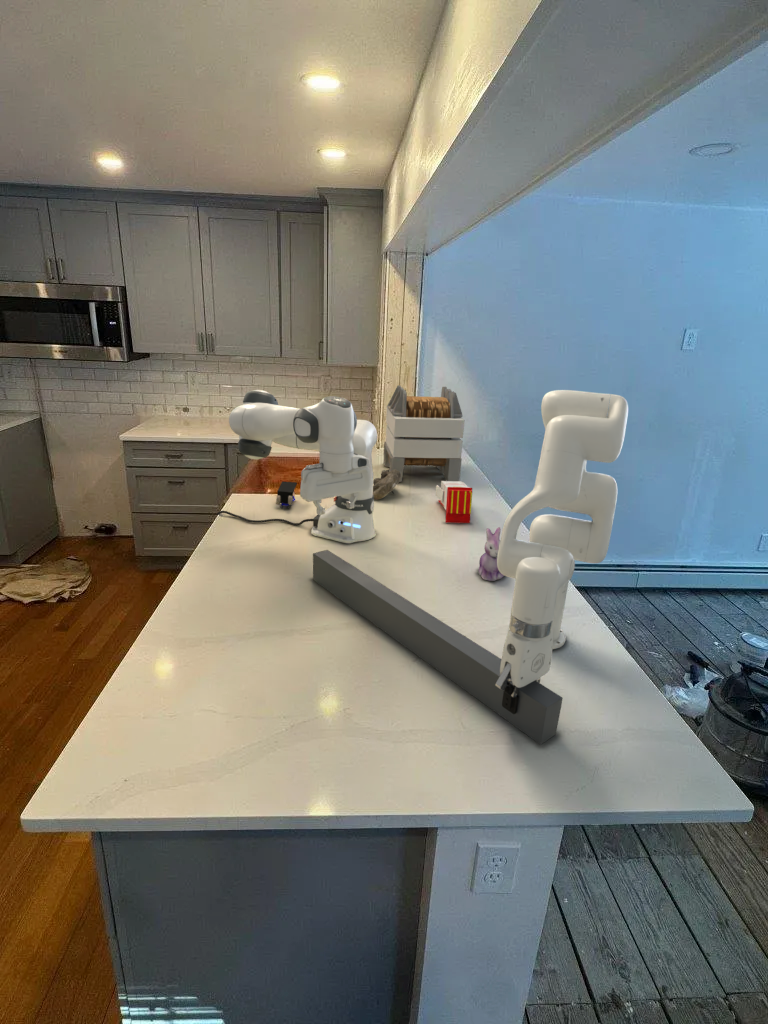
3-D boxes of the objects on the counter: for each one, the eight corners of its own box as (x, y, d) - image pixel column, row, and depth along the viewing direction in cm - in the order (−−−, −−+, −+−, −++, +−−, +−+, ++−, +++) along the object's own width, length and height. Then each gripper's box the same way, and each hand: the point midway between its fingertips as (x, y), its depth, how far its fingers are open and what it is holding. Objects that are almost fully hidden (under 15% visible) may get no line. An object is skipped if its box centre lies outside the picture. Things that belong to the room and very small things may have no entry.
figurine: (489, 584, 165) (495, 537, 160) (469, 570, 174) (474, 524, 169) (515, 579, 169) (521, 532, 164) (493, 565, 178) (499, 520, 173)
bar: (312, 579, 164) (312, 553, 161) (327, 575, 167) (327, 549, 164) (540, 744, 105) (546, 707, 102) (556, 734, 108) (562, 697, 105)
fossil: (369, 475, 252) (396, 457, 247) (382, 491, 255) (409, 474, 250) (363, 495, 232) (392, 476, 227) (377, 513, 235) (406, 494, 230)
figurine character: (293, 513, 218) (297, 497, 231) (292, 495, 215) (297, 480, 228) (275, 513, 218) (281, 496, 231) (274, 495, 214) (280, 479, 228)
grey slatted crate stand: (382, 463, 289) (386, 382, 275) (445, 464, 293) (451, 384, 279) (390, 482, 257) (394, 392, 243) (460, 483, 261) (468, 394, 247)
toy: (463, 477, 237) (476, 489, 207) (461, 508, 239) (474, 524, 210) (434, 476, 236) (443, 488, 207) (432, 507, 239) (441, 523, 210)
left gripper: (308, 469, 139) (308, 521, 143) (374, 458, 151) (372, 507, 155) (295, 463, 143) (295, 514, 148) (360, 453, 155) (359, 501, 160)
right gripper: (516, 647, 97) (504, 733, 103) (575, 618, 107) (560, 698, 113) (484, 627, 102) (474, 710, 109) (542, 602, 112) (530, 679, 119)
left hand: (335, 511), depth 152 cm, fingers open, 8 cm apart
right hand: (518, 703), depth 111 cm, fingers closed on bar, 4 cm apart
